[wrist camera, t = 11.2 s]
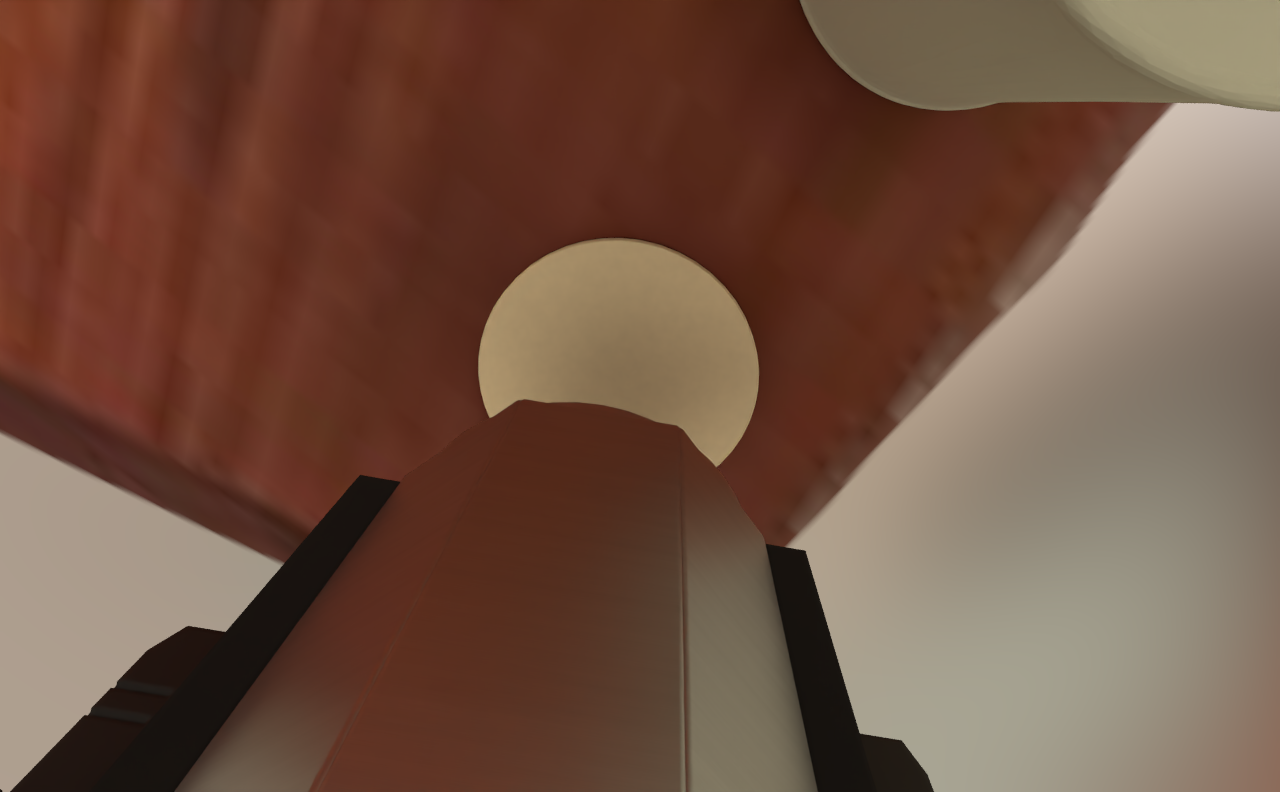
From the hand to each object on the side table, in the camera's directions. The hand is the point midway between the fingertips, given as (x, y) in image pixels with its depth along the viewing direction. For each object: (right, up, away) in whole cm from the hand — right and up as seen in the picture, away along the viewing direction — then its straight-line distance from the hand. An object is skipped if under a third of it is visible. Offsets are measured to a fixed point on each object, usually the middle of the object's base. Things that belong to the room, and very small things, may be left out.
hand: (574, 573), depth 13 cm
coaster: (+1, +4, +9) cm, 10 cm away
